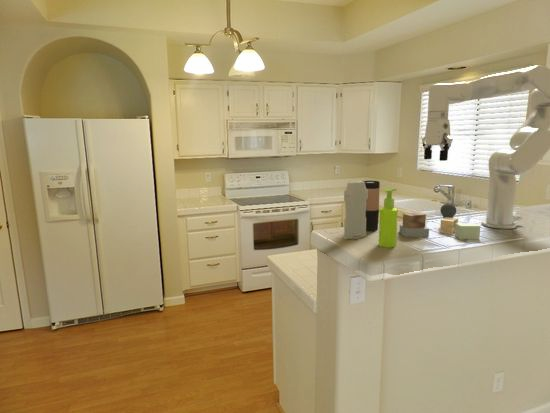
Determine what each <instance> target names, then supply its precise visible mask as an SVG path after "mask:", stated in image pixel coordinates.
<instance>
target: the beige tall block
mask: <svg viewBox="0 0 550 413" xmlns="http://www.w3.org/2000/svg"><path fill="white" fill-rule="evenodd" d="M362 181H363V180H362ZM362 181H361V180H354V181H351V182H347V184H346V188H345V191H343V201H344V202H345V203H344V205H345V207H344V208H345V218H344V226H343V227H344V231H343V233H344V234H343V239H344V238H345V239H344V240H347V239H348V240H358V239H361V238H366V237H367V231H366V215H365V214H366V213H365V212H366V200H367V197H368V190H367V189H366V186H365V182H362Z"/></svg>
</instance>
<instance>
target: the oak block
mask: <svg viewBox="0 0 550 413" xmlns="http://www.w3.org/2000/svg"><path fill="white" fill-rule="evenodd" d="M456 223H459V218H458V217H453V218H452V217H445V218H443V217H442V219H440V226H439V227H440V228H439V231H440V232H439V233H445V234H454V233H455V228H456ZM453 232H454V233H453Z"/></svg>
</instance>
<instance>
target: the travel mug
mask: <svg viewBox="0 0 550 413" xmlns="http://www.w3.org/2000/svg"><path fill="white" fill-rule="evenodd" d="M362 182H365V186H366V189H367V190H368V197H367V200H366V212H365V213H366V214H365V215H366V232H376V231H379V230H378V229H379V219H380V189H381V188H380V186H381V185H380V184H381V182H380V181H379V180H362Z"/></svg>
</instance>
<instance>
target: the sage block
mask: <svg viewBox="0 0 550 413" xmlns="http://www.w3.org/2000/svg"><path fill="white" fill-rule="evenodd" d="M480 234H481V225H479V224H478V223H475V222H473V223H472V222H471V223H469V222H467V223H466V222H465V223H461V222H458V223H456V228H455V232H454V237H456V236H457V237H456V238H457V239H459V238H460V240H479V239H480V237H481V235H480Z"/></svg>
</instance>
